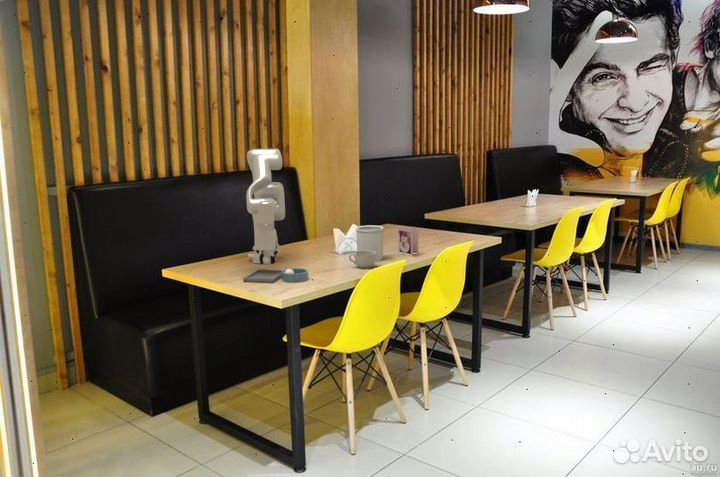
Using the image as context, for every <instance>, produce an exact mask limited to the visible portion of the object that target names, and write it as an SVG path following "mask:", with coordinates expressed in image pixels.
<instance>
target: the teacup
mask: <svg viewBox="0 0 720 477" xmlns="http://www.w3.org/2000/svg"><path fill="white" fill-rule="evenodd" d="M352 256H354V260H353V259H352ZM348 259H349V261H350V262H352V263H353V264H354V265H356V266H357V267H358V268H361V269H371V268H372V267H373V266H375V264H376V261H375V260H376V252H375V251H371V250H359V251H357V250H356V251H355V252H354V253H351V252H350V254H349V255H348Z"/></svg>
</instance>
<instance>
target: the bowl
mask: <svg viewBox="0 0 720 477" xmlns="http://www.w3.org/2000/svg"><path fill="white" fill-rule="evenodd" d="M287 269H288V268H286V269H283V271H282V278H281V280H282V281H283V282H285V283H302V282H307V281H308V280H309V270H308V269H306V268H300V267H297V268H293V267H291V268H290V269H291V270H293V271H294V274H288V273H284V272H285V271H286V270H287Z"/></svg>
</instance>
